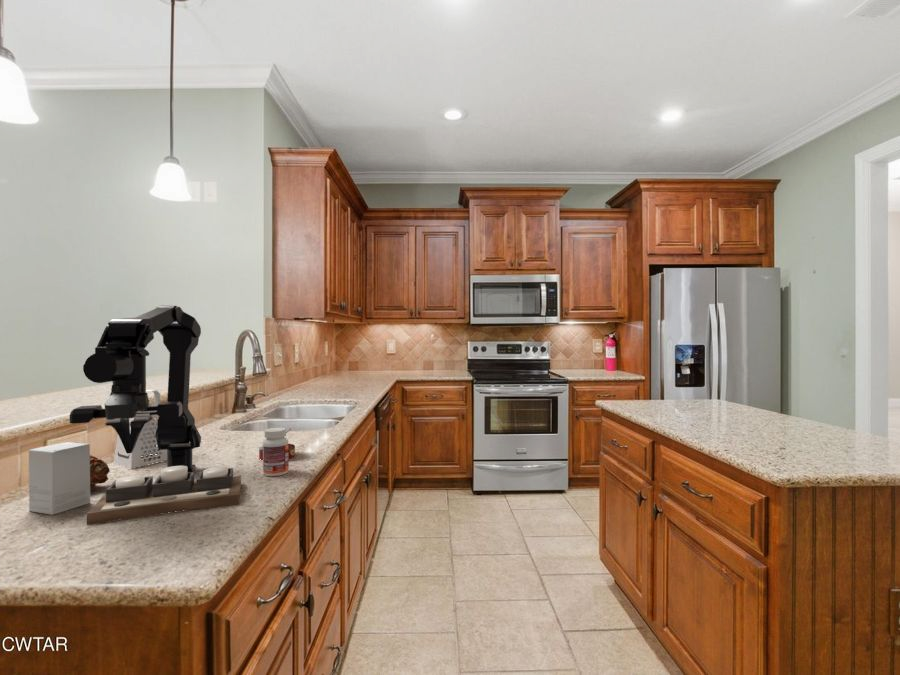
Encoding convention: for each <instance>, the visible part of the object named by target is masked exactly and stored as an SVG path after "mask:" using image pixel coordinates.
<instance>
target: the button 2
mask: <svg viewBox="0 0 900 675" xmlns="http://www.w3.org/2000/svg"><path fill="white" fill-rule="evenodd" d="M202 471H203V479H204V478H213V477H222V476H228V467H225V466H215V467H214V466H213V467H210V468H206V469H204V470H202Z"/></svg>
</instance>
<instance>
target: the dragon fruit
mask: <svg viewBox="0 0 900 675" xmlns="http://www.w3.org/2000/svg"><path fill="white" fill-rule="evenodd" d="M110 471H111V470H110V467H109V466H108V464H107V463H106V461H104V460H102V459H99V458H98V457H96V456H94V455H91V454H90V491H92V490H95V487H96V485H97V484H100V485H101V484H105V483H106V482H107V481H108V480H109V477H108V475H109V473H110Z"/></svg>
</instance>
